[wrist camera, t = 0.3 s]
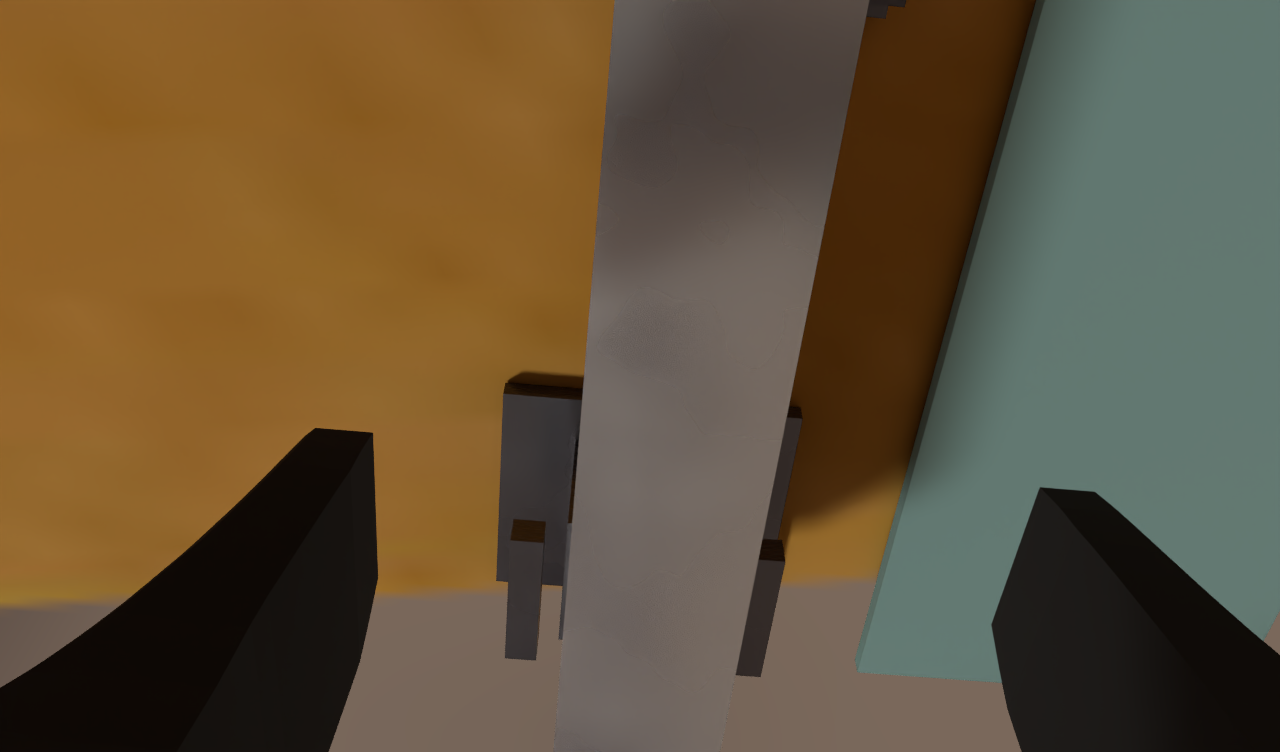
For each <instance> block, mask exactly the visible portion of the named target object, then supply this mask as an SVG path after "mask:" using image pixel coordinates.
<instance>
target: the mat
mask: <svg viewBox="0 0 1280 752" xmlns="http://www.w3.org/2000/svg"><path fill="white" fill-rule="evenodd" d="M1040 487H1044V488H1056V489H1068V490H1080V491H1093V492H1096V493H1097V494H1098V495H1100V496H1101V497H1102V498H1103V499H1105V500H1106V501H1107V502H1108V503H1109V504H1111V505H1112V506H1113V507H1114V508H1115V509H1116V510H1118V511H1119V512H1120V513H1121V514H1122V515H1123V516H1124V517H1126V518H1127V519H1128V520H1129V521H1130V522H1131V523H1132V524H1133V525H1134V526H1136V527H1137V528H1138V529H1139V530H1140V531H1141V532H1142V533H1143V534H1144V535H1145V536H1147V537H1148V538H1149V539H1150V540H1151V541H1152V542H1153V543H1154V544H1155V545H1156V546H1157V547H1159V548H1160V549H1161V550H1162V551H1163V552H1164V553H1165V554H1166V555H1167V556H1168V557H1169V558H1171V559H1172V560H1173V561H1174V562H1175V563H1176V564H1177V565H1178V566H1179V567H1180V568H1181V569H1183V570H1184V571H1185V572H1186V573H1187V574H1188V575H1189V576H1190V577H1191V578H1192V579H1194V580H1195V581H1196V582H1197V583H1198V584H1199V585H1200V586H1201V587H1202V588H1203V589H1205V590H1206V591H1207V592H1208V593H1209V594H1210V595H1211V596H1212V597H1213V598H1215V599H1216V600H1217V601H1218V602H1219V603H1220V604H1221V605H1222V606H1224V607H1225V608H1226V609H1227V610H1228V611H1229V612H1230V613H1231V614H1232V615H1234V616H1235V617H1236V618H1237V619H1238V620H1239V621H1240V622H1242V623H1243V624H1244V625H1245V626H1246V627H1247V628H1249V629H1250V630H1251V631H1252V632H1253V633H1254V634H1256V635H1257V636H1258V637H1259V638H1260V639H1261V640H1263V641H1264V639H1265V637H1266V635H1267V633H1268V631H1269V629H1270V628H1271V626H1272V624H1273V622H1274V620H1275V619H1276V617H1277V615H1278V613H1279V611H1280V0H1036V3H1035V6H1034V10H1033V14H1032V17H1031V21H1030V25H1029V28H1028V32H1027V36H1026V39H1025V43H1024V46H1023V50H1022V54H1021V57H1020V61H1019V65H1018V68H1017V72H1016V76H1015V79H1014V83H1013V86H1012V90H1011V94H1010V97H1009V101H1008V105H1007V108H1006V112H1005V116H1004V119H1003V123H1002V126H1001V130H1000V134H999V137H998V141H997V145H996V148H995V152H994V156H993V159H992V163H991V166H990V170H989V174H988V177H987V181H986V185H985V188H984V192H983V196H982V199H981V203H980V207H979V210H978V214H977V217H976V221H975V225H974V228H973V232H972V236H971V239H970V243H969V247H968V250H967V254H966V257H965V261H964V265H963V268H962V272H961V276H960V279H959V283H958V287H957V290H956V294H955V297H954V301H953V305H952V308H951V312H950V316H949V319H948V323H947V327H946V330H945V334H944V337H943V341H942V345H941V348H940V352H939V356H938V359H937V363H936V367H935V370H934V374H933V378H932V381H931V385H930V388H929V392H928V396H927V399H926V403H925V407H924V410H923V414H922V418H921V421H920V425H919V428H918V432H917V436H916V439H915V443H914V447H913V450H912V454H911V458H910V461H909V465H908V468H907V472H906V476H905V479H904V483H903V487H902V490H901V494H900V498H899V501H898V505H897V508H896V512H895V516H894V519H893V523H892V527H891V530H890V534H889V538H888V541H887V545H886V549H885V552H884V556H883V559H882V563H881V567H880V570H879V574H878V578H877V581H876V585H875V589H874V592H873V596H872V599H871V603H870V607H869V611H868V614H867V618H866V621H865V625H864V629H863V632H862V636H861V640H860V643H859V647H858V650H857V654H856V658H855V662H856V666H857V672H863V673H877V674H889V675H903V676H917V677H931V678H944V679H958V680H970V681H984V682H998V683H1002V680H1001V676H1000V671H999V665H998V660H997V654H996V649H995V643H994V638H993V632H992V626H991V624H992V621H993V618H994V615H995V612H996V610H997V607H998V604H999V601H1000V598H1001V595H1002V593H1003V590H1004V587H1005V584H1006V581H1007V578H1008V576H1009V573H1010V570H1011V567H1012V564H1013V561H1014V559H1015V556H1016V553H1017V550H1018V547H1019V544H1020V542H1021V539H1022V536H1023V533H1024V530H1025V527H1026V525H1027V522H1028V519H1029V516H1030V513H1031V510H1032V508H1033V505H1034V502H1035V499H1036V496H1037V493H1038V491H1039V488H1040Z"/></svg>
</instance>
